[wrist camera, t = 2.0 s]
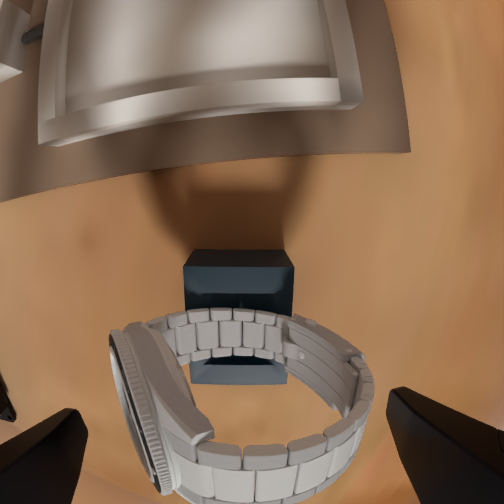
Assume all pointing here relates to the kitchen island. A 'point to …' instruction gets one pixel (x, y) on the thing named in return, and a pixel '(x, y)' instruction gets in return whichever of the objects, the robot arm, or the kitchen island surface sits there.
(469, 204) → the kitchen island surface
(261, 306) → the watch
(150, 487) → the kitchen island surface
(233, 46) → the charging board
